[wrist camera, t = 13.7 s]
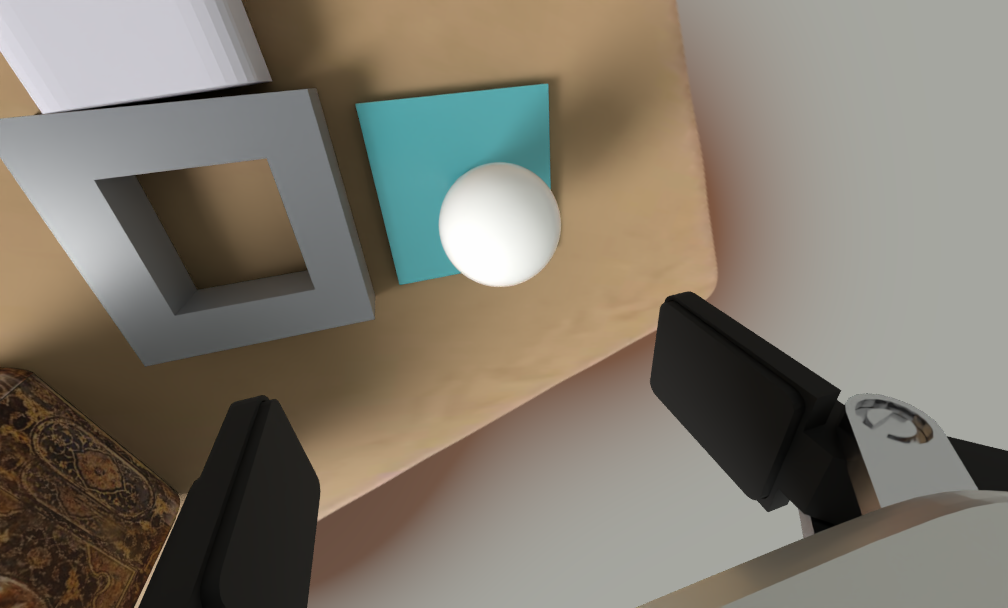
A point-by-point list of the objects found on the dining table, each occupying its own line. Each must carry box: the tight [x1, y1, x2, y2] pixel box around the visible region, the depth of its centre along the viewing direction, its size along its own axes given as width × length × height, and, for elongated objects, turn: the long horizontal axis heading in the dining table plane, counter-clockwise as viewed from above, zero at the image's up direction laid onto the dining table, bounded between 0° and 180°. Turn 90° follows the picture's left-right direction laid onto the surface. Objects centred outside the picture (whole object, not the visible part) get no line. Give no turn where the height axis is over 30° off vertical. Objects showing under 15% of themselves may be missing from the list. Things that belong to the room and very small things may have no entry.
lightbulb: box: [439, 162, 561, 287], centre depth 23 cm, size 6×6×11 cm
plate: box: [355, 84, 551, 285], centre depth 28 cm, size 12×12×1 cm
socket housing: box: [0, 88, 375, 366], centre depth 24 cm, size 14×14×4 cm
